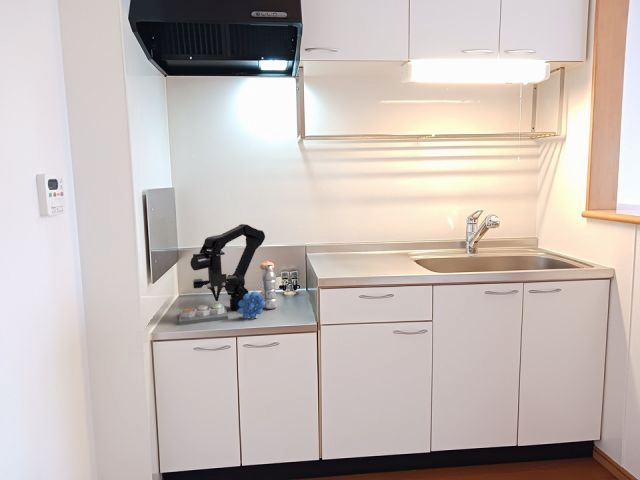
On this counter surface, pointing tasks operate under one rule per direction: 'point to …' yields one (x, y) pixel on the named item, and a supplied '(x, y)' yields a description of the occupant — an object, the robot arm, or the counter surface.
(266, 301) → the plastic bottle
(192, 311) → the terracotta button
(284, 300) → the counter surface
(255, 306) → the grapes
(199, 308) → the grey button
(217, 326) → the counter surface
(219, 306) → the sage button
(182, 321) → the button panel
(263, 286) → the pepper shaker
